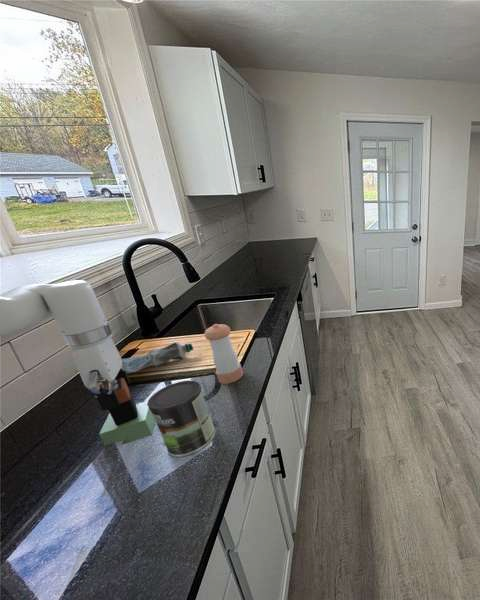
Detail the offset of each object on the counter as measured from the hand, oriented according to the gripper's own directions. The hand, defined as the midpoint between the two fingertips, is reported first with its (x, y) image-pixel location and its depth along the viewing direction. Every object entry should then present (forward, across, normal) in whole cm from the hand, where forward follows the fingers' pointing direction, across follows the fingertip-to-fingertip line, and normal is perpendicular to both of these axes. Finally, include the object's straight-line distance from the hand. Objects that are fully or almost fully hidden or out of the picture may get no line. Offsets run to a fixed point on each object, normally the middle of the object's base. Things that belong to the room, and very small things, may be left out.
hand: (117, 396), depth 77 cm
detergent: (+11, -35, -1) cm, 37 cm away
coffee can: (+11, +12, +14) cm, 22 cm away
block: (+11, 0, 0) cm, 11 cm away
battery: (+6, 0, 0) cm, 6 cm away
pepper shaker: (+11, -13, +23) cm, 29 cm away
